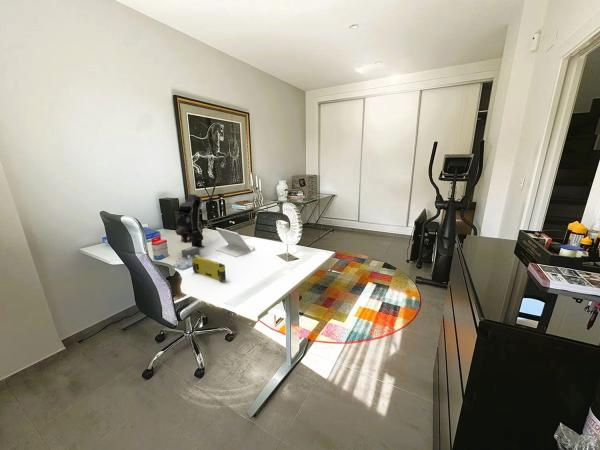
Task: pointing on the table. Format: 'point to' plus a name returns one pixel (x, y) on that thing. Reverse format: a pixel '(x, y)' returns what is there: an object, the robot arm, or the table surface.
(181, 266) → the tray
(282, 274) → the table surface
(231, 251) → the tablet stand
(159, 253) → the ink box
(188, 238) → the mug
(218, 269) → the gaming console
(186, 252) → the drive
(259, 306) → the table surface
